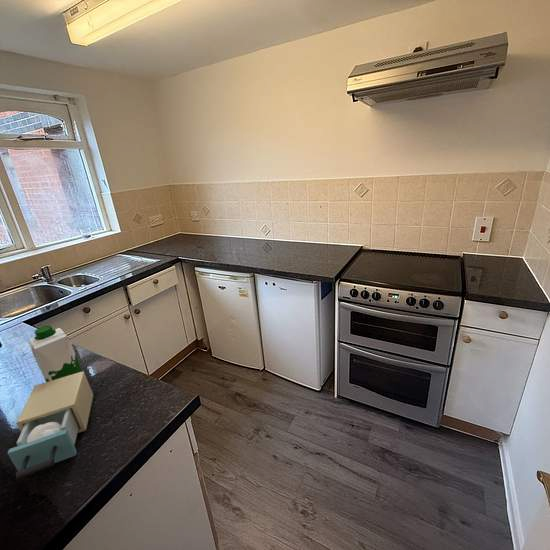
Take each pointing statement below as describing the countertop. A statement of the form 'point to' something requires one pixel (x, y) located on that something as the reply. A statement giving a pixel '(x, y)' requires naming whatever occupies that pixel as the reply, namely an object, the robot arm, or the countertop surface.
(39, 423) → the drawer
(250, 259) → the countertop surface
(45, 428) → the dumpling
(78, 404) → the cabinet
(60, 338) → the milk carton
